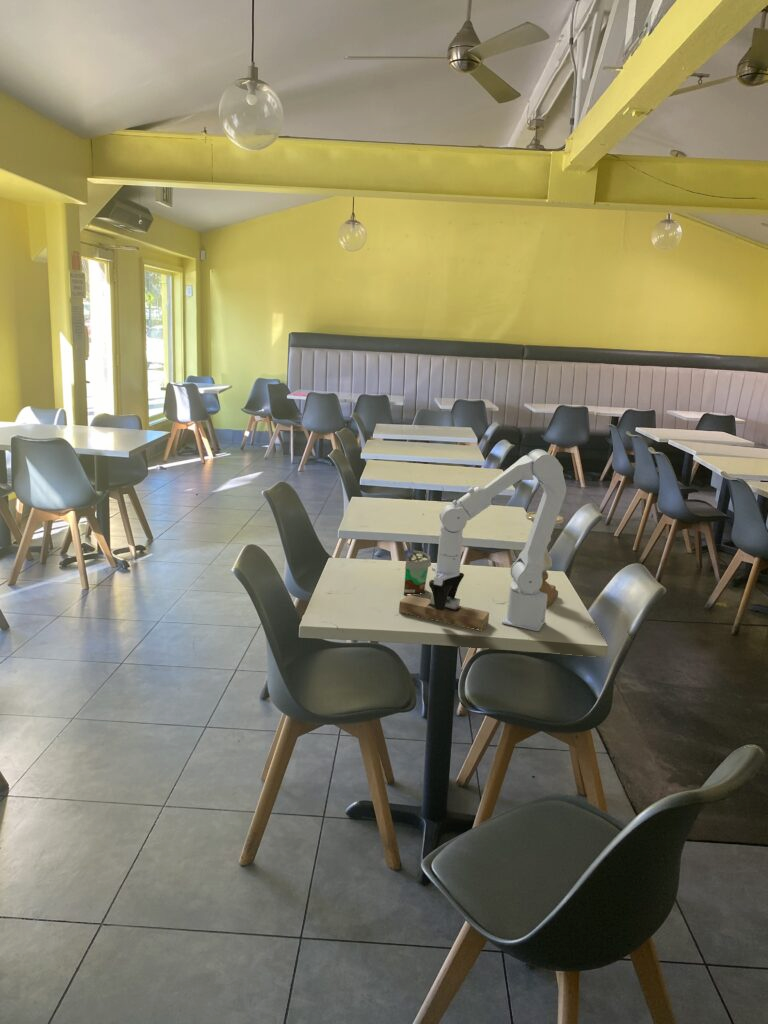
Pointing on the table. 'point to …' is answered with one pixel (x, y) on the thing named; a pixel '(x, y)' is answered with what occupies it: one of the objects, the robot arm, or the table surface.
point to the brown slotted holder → (444, 613)
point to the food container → (416, 572)
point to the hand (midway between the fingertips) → (444, 604)
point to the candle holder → (547, 567)
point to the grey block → (448, 603)
